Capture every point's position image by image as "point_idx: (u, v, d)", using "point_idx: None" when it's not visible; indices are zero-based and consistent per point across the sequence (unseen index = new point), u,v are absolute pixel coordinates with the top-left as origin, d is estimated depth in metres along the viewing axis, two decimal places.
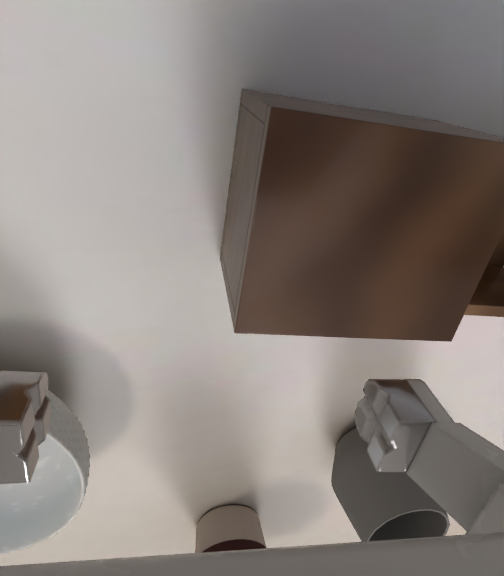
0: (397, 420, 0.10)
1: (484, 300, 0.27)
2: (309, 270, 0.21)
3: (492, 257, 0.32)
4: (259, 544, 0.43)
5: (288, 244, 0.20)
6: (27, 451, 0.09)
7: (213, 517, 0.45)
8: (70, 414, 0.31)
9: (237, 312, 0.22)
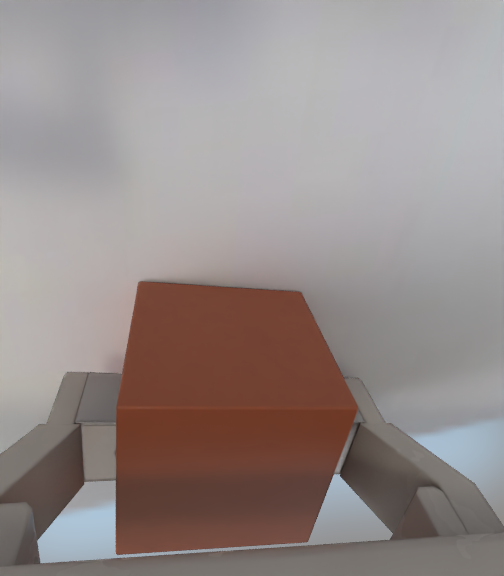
0: None
1: None
2: None
3: None
4: None
5: None
6: None
7: None
8: None
9: None
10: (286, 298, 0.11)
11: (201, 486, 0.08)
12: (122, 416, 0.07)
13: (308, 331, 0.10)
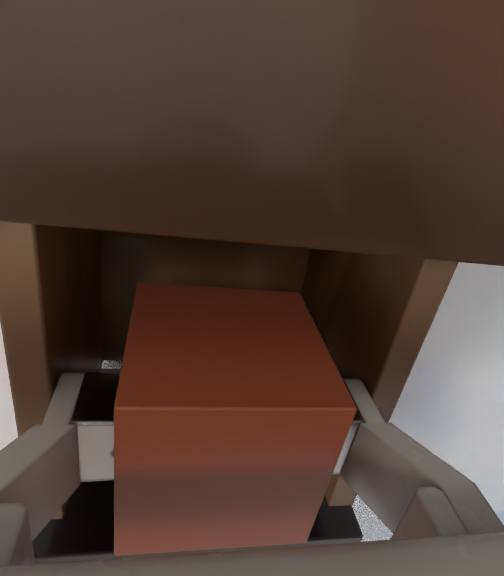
0: None
1: (54, 312, 0.09)
2: None
3: (121, 333, 0.16)
4: None
5: None
6: None
7: None
8: None
9: None
10: (284, 299, 0.11)
11: (199, 487, 0.08)
12: (120, 417, 0.07)
13: (307, 332, 0.10)
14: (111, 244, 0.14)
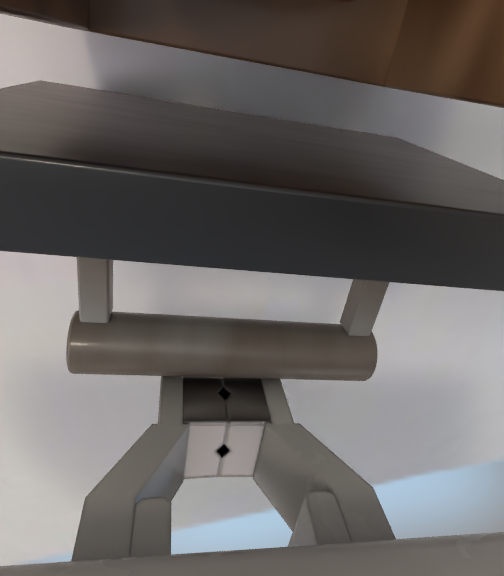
0: (228, 421, 0.09)
1: None
2: None
3: None
4: None
5: None
6: (219, 448, 0.09)
7: None
8: None
9: None
10: None
11: None
12: None
13: None
14: None
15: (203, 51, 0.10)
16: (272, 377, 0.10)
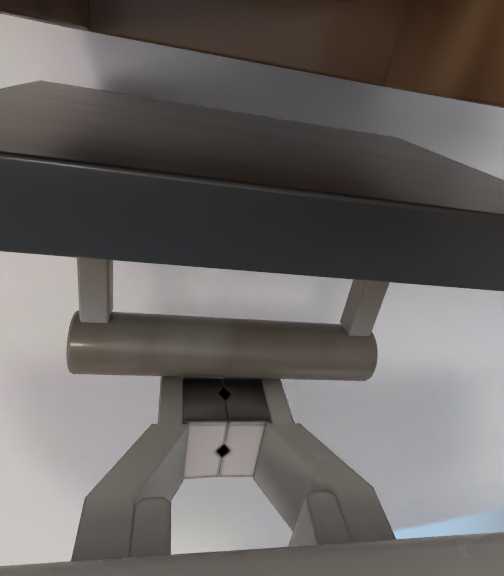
0: (228, 421, 0.09)
1: None
2: None
3: None
4: None
5: None
6: (219, 448, 0.09)
7: None
8: None
9: None
10: None
11: None
12: None
13: None
14: None
15: (203, 51, 0.10)
16: (272, 377, 0.10)
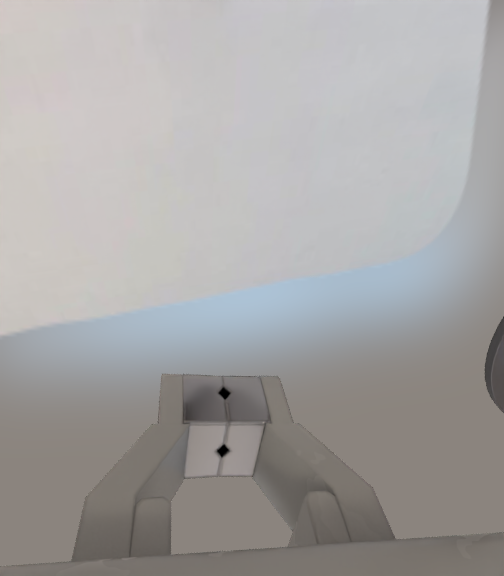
0: (227, 421, 0.09)
1: None
2: None
3: None
4: None
5: None
6: (219, 448, 0.09)
7: None
8: None
9: None
10: None
11: None
12: None
13: None
14: None
15: None
16: None
